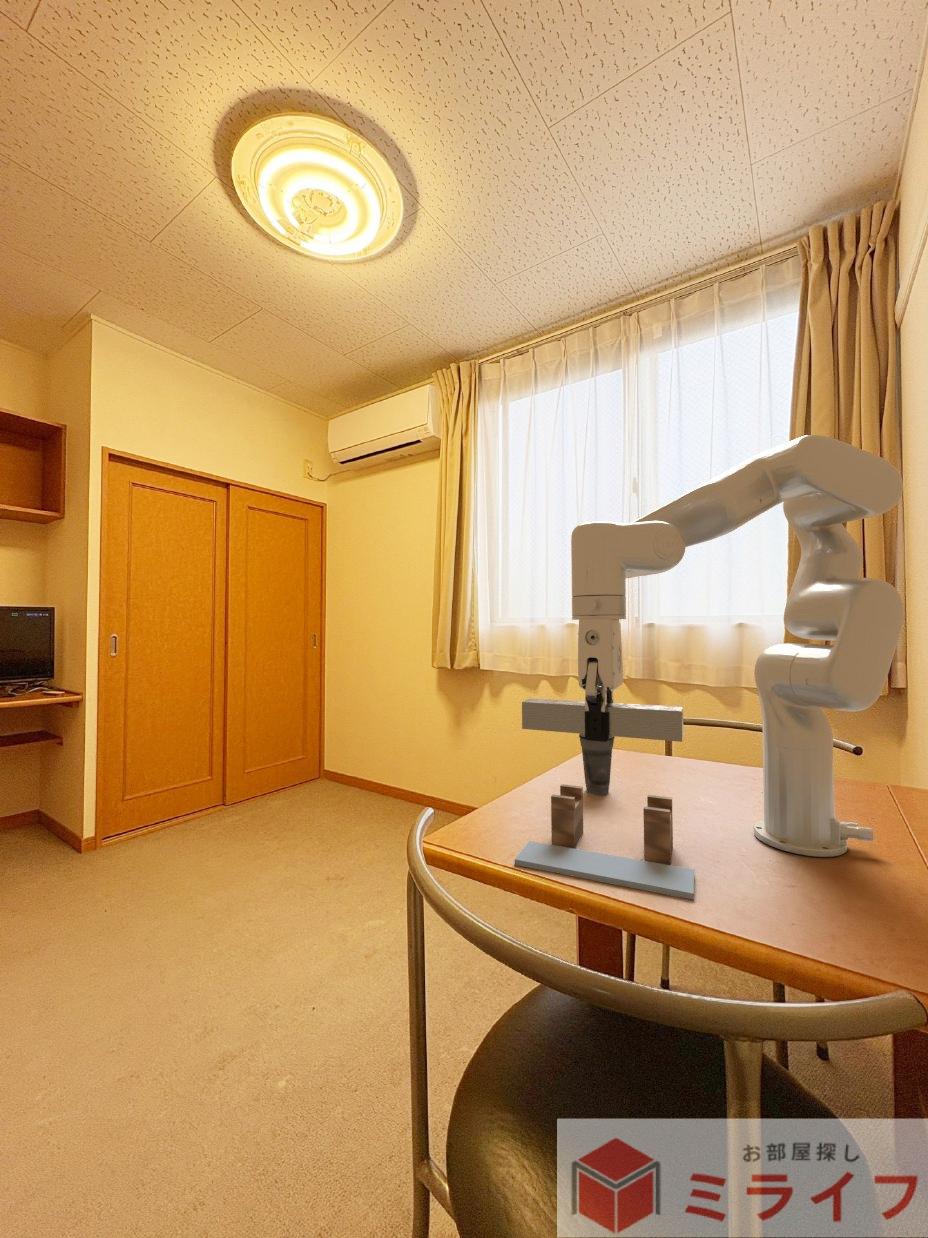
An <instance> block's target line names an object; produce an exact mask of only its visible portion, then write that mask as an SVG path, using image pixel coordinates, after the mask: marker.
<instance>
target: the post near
mask: <svg viewBox="0 0 928 1238" xmlns="http://www.w3.org/2000/svg"><path fill="white" fill-rule="evenodd" d="M646 797H647V798H646V799H647V800H646V801H647V803H646V804H647V806H645V805H644V806H643V855H644V857H643V858H644V859H643V861H648V862H654V863H660V864H665V865H671V866H672V864H671V863H672V858H673V850H674V838H673V837H674V833H673V831H674V829H673V827H674V826H673V819H674V818H673V797H672V796H671V797H670V796H664V795H663V796H661V795H654V794H647V796H646Z"/></svg>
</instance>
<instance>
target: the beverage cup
mask: <svg viewBox="0 0 928 1238" xmlns="http://www.w3.org/2000/svg"><path fill="white" fill-rule="evenodd" d="M578 737H579V742H580V746H581V753H582V763H583V774H584V782H585V783H584V784H585V789H586V793H587V794H590V795H594V796H606V795H608V794H609V791H610V784H611V783H610V782H611V770H612V756H613V755H612V754H613V747H614V743H615V737H616V736H609V740H608V741H607V742H602V741H590V740H586V739H585V734H579V733H578Z"/></svg>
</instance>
